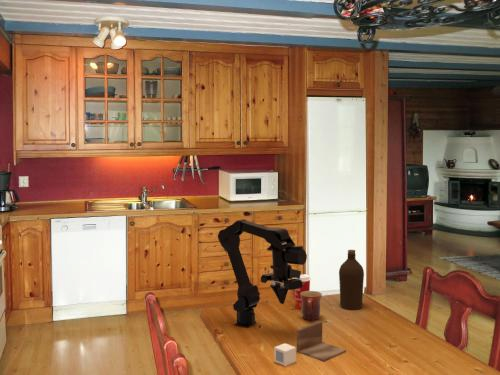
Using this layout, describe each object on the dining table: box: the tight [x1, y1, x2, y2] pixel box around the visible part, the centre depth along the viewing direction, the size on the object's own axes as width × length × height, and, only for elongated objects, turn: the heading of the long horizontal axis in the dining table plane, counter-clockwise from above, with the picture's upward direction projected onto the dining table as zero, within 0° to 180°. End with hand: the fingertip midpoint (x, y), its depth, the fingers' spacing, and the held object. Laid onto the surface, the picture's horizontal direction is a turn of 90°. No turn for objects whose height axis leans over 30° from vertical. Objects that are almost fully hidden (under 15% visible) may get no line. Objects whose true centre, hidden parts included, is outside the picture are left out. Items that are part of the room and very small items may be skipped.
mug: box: [300, 290, 323, 321], centre depth 220 cm, size 12×9×10 cm
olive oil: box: [338, 249, 365, 311], centre depth 235 cm, size 11×11×25 cm
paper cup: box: [292, 273, 312, 311], centre depth 235 cm, size 8×8×14 cm
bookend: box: [296, 320, 347, 363], centre depth 187 cm, size 12×12×8 cm
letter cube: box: [273, 342, 297, 367], centre depth 179 cm, size 5×5×5 cm
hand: (282, 303), depth 203 cm, fingers closed
